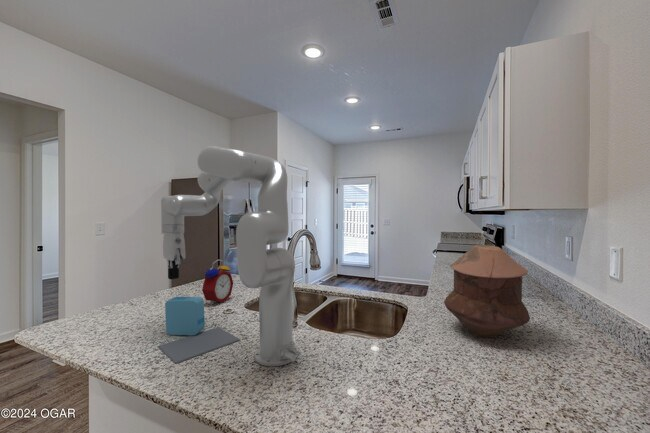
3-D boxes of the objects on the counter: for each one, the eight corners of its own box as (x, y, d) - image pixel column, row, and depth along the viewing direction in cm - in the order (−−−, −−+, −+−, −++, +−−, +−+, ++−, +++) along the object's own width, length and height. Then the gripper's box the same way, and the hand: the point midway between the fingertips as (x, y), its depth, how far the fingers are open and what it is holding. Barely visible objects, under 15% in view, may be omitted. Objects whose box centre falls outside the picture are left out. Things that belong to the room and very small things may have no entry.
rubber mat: (240, 340, 96) (240, 339, 96) (175, 364, 81) (175, 362, 81) (218, 327, 106) (218, 326, 106) (157, 347, 92) (157, 345, 92)
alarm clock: (213, 307, 129) (213, 262, 128) (197, 305, 131) (196, 261, 131) (234, 297, 143) (233, 257, 142) (219, 296, 145) (218, 256, 145)
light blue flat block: (205, 330, 103) (204, 296, 103) (197, 335, 98) (196, 300, 98) (174, 329, 105) (173, 296, 105) (165, 334, 100) (164, 300, 100)
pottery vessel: (468, 313, 119) (468, 240, 118) (542, 335, 98) (543, 246, 97) (429, 328, 104) (429, 245, 103) (507, 358, 83) (508, 253, 82)
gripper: (191, 229, 105) (192, 280, 106) (176, 227, 116) (176, 273, 116) (169, 231, 100) (169, 284, 100) (155, 228, 110) (155, 276, 111)
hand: (173, 278), depth 108 cm, fingers closed
